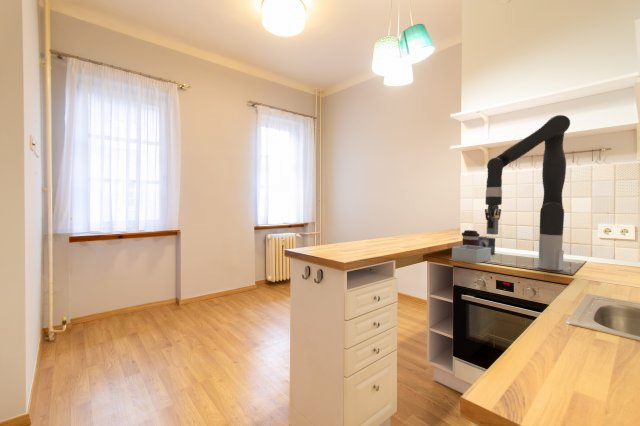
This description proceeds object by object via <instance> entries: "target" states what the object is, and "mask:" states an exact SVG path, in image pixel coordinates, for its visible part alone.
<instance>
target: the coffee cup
mask: <svg viewBox="0 0 640 426" xmlns="http://www.w3.org/2000/svg"><path fill="white" fill-rule="evenodd" d="M479 236H480V233H479V232H478V231H477V230H470V229H468V230H465V229H464V231H463V232H461V237H462V245H472V246H478V237H479Z"/></svg>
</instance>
